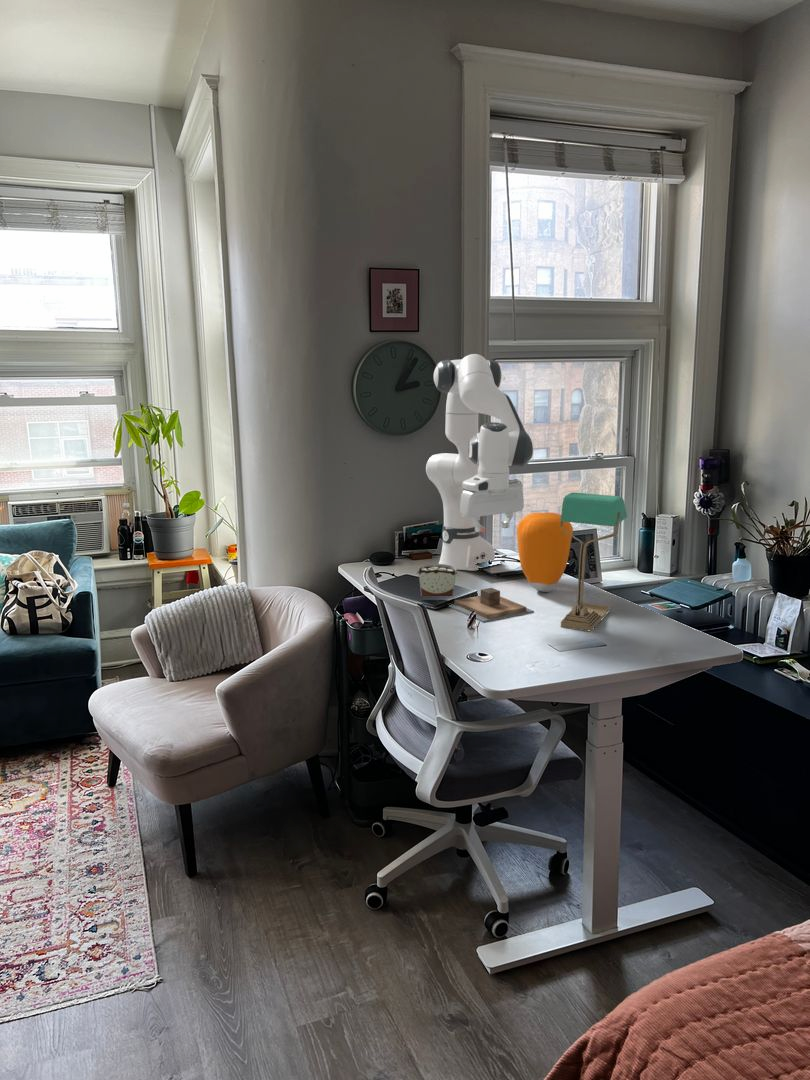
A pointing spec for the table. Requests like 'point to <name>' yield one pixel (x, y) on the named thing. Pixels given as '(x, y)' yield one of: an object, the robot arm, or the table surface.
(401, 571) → the table surface
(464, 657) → the table surface
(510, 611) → the walnut cover
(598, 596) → the table surface
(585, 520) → the banker's lamp
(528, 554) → the orange tapered rounded form
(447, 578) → the food container
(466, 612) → the charcoal mat
